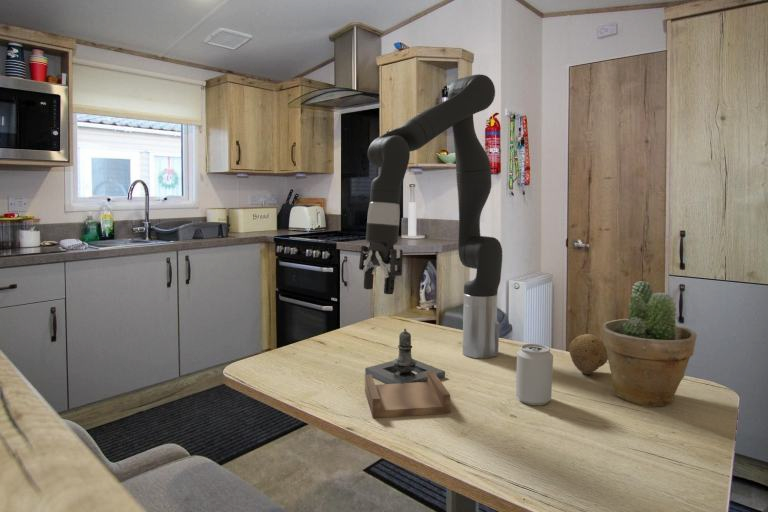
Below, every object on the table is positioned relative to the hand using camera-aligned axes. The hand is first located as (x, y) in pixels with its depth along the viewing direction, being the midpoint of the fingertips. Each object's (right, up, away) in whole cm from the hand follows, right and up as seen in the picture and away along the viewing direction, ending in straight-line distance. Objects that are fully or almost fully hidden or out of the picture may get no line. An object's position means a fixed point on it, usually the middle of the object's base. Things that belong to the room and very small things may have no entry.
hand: (377, 291), depth 121 cm
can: (+34, -23, -8) cm, 42 cm away
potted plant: (+59, -23, -7) cm, 64 cm away
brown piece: (+6, -23, -10) cm, 26 cm away
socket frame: (+7, -21, +7) cm, 23 cm away
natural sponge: (+53, -21, +9) cm, 58 cm away
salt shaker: (+7, -22, +7) cm, 23 cm away
